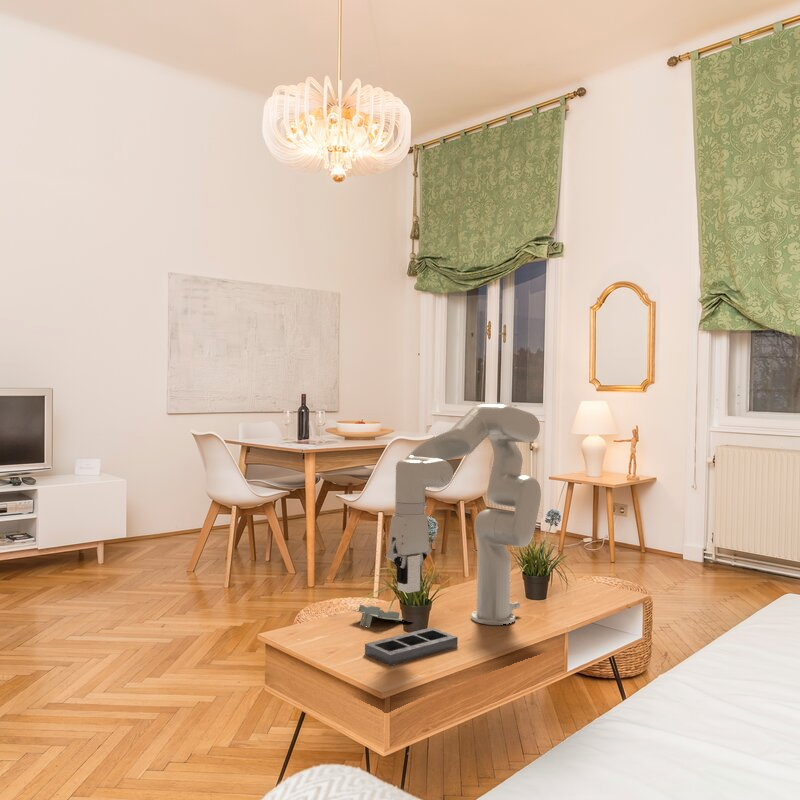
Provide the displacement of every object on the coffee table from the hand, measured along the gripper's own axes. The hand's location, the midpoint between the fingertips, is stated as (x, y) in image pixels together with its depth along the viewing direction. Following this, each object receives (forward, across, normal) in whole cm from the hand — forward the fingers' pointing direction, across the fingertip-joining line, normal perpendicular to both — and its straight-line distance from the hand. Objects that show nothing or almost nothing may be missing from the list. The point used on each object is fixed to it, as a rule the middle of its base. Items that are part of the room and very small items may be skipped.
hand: (408, 580), depth 182 cm
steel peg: (+2, 0, 0) cm, 2 cm away
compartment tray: (+17, 0, +1) cm, 17 cm away
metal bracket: (+18, -8, -22) cm, 30 cm away
